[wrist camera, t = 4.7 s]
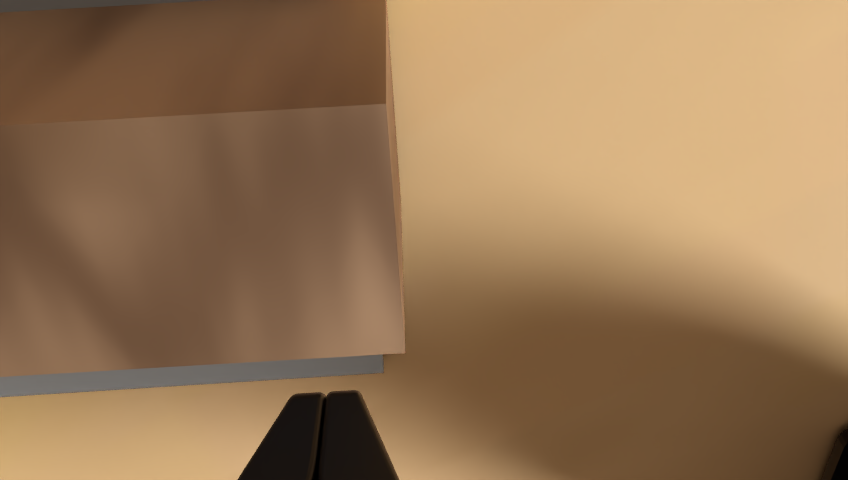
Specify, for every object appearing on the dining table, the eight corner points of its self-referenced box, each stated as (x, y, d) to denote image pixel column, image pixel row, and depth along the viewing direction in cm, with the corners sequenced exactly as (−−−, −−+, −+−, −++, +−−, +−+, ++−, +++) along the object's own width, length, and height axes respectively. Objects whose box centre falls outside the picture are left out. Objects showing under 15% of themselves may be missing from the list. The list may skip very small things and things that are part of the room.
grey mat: (383, 362, 22) (383, 372, 22) (-123, 394, 22) (-130, 405, 22) (310, -356, 13) (308, -358, 12) (-575, -309, 13) (-600, -309, 12)
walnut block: (405, 352, 14) (-201, 388, 14) (401, 203, 19) (-72, 230, 18) (386, 104, 12) (-374, 147, 11) (385, -10, 16) (-176, 21, 16)
